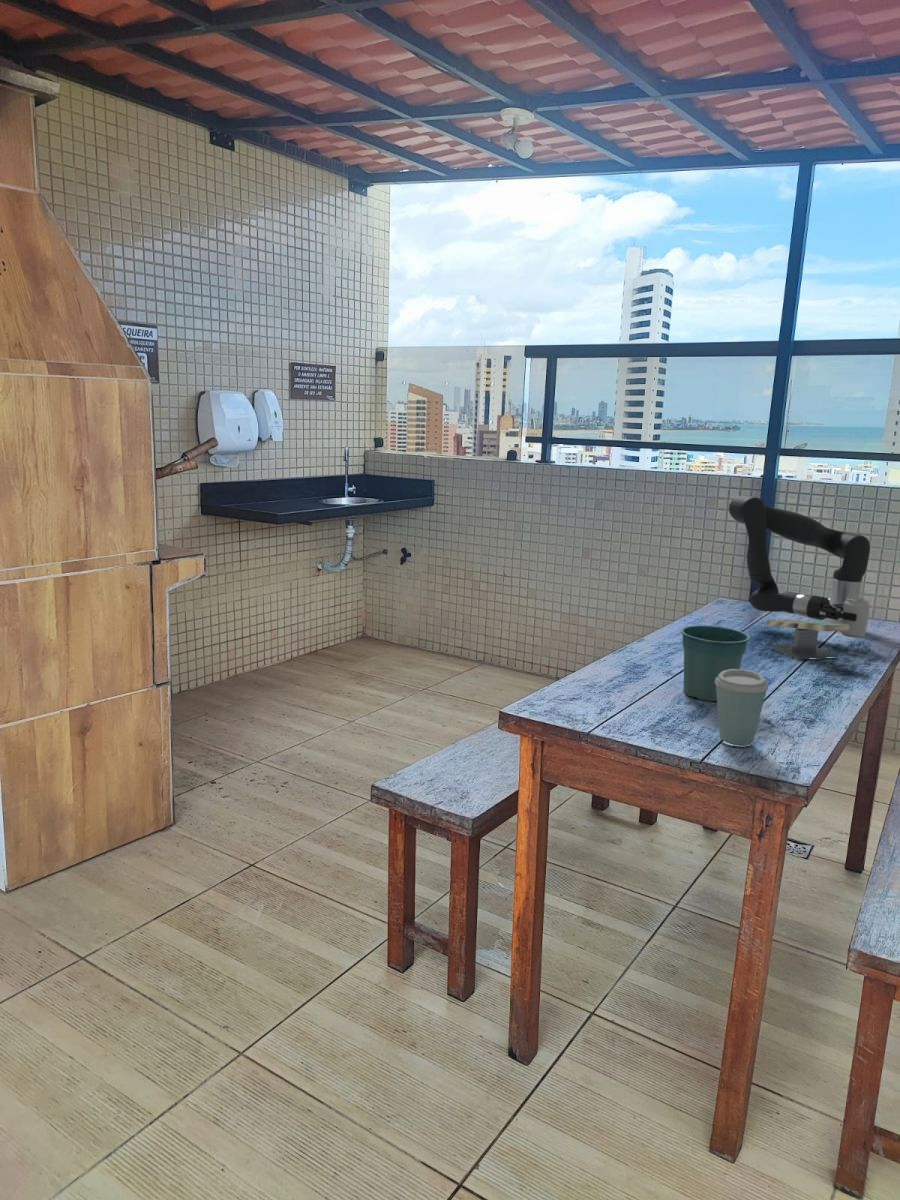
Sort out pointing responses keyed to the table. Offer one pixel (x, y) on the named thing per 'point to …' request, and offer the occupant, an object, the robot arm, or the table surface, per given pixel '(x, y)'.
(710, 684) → the flower pot
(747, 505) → the robot arm
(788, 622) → the beam
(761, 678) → the disposable coffee cup
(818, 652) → the stand
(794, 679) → the table surface
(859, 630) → the can
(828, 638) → the table surface
